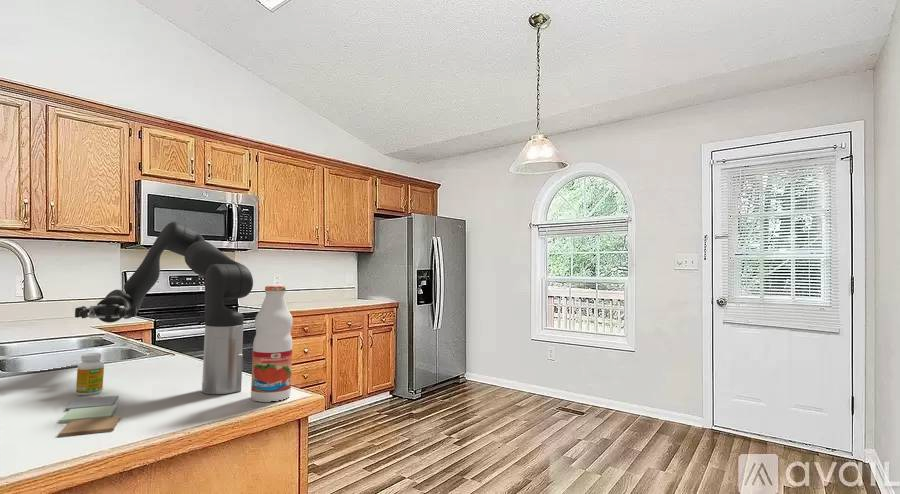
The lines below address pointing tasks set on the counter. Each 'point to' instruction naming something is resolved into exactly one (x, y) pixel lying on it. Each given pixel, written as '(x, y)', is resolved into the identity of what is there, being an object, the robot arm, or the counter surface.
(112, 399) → the slate pad
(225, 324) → the robot arm
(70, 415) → the sage pad
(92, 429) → the walnut pad
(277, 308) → the fruit juice
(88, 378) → the supplement bottle
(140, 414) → the counter surface
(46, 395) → the counter surface
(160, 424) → the counter surface
